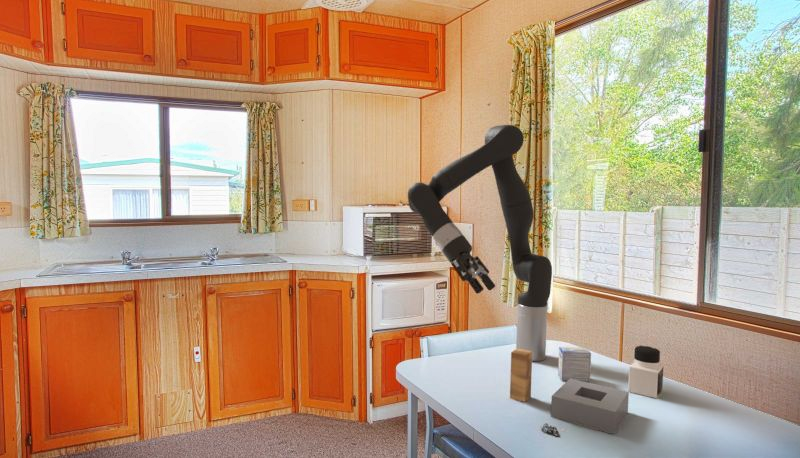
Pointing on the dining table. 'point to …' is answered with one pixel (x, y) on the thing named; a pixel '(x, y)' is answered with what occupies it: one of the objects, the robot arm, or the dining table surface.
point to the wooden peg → (521, 374)
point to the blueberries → (550, 430)
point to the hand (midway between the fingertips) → (486, 290)
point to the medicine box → (574, 364)
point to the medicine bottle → (646, 372)
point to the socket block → (590, 405)
